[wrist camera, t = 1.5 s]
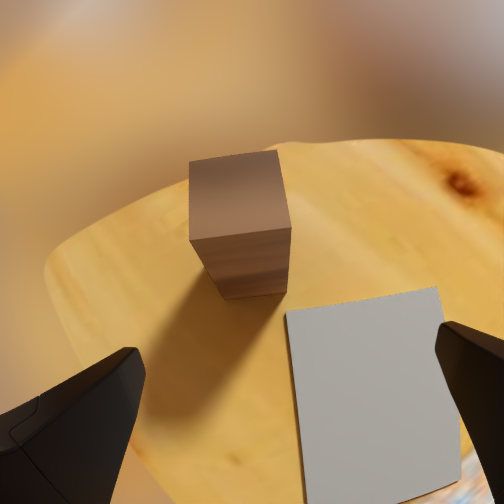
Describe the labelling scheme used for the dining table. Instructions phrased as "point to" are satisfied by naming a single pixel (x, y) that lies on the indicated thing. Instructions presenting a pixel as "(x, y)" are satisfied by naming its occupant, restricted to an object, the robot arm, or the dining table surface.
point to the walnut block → (241, 223)
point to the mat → (373, 400)
